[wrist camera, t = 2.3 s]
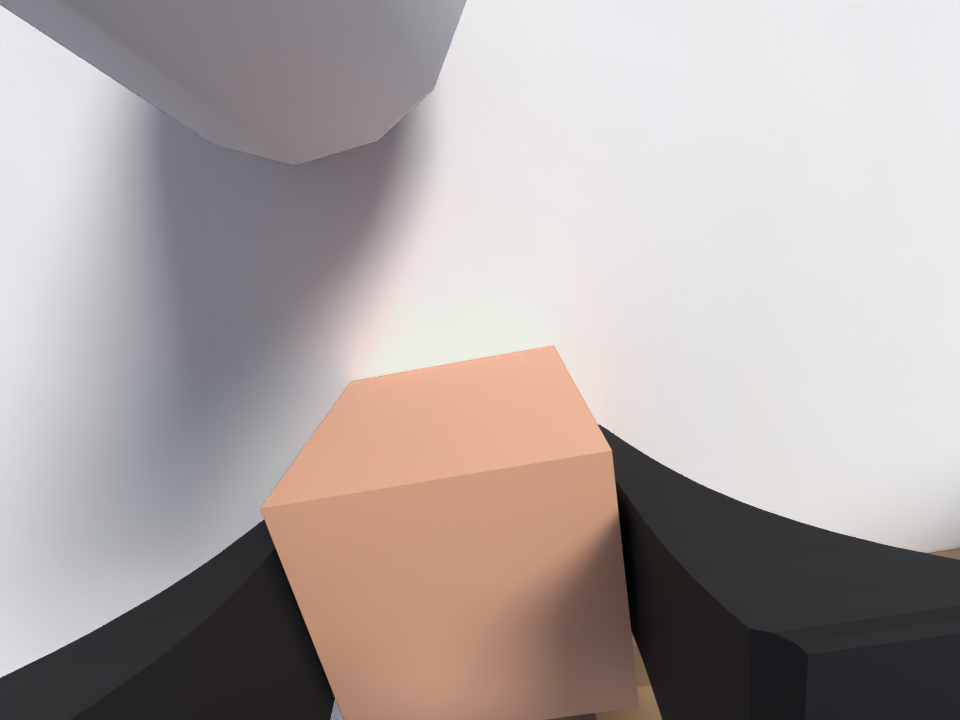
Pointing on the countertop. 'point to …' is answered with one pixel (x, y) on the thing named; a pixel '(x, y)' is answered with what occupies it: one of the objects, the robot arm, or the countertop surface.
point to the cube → (461, 546)
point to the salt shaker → (263, 63)
